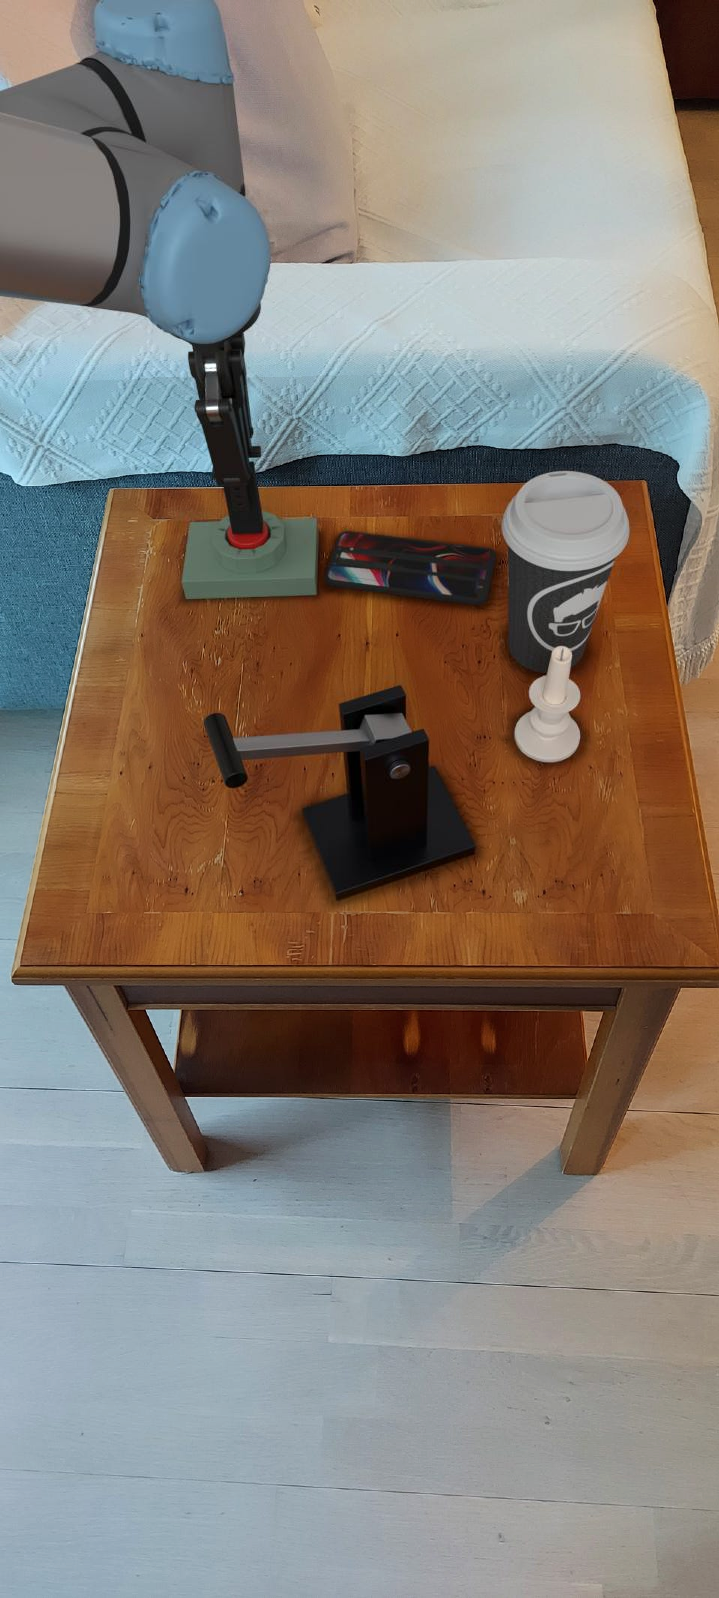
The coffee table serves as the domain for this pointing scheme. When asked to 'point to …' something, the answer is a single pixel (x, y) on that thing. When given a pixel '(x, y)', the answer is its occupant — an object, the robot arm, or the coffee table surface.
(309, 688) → the coffee table surface
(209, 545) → the button box
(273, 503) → the coffee table surface
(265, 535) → the button
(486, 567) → the smartphone
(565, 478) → the coffee cup
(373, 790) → the bracket
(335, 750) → the lever
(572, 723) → the candle
